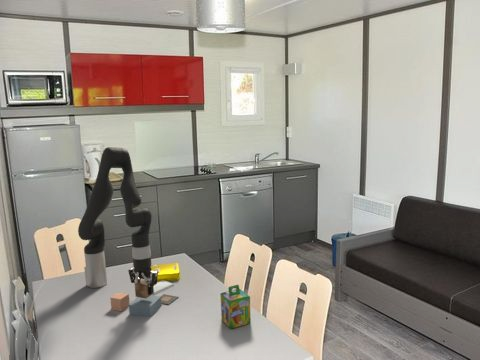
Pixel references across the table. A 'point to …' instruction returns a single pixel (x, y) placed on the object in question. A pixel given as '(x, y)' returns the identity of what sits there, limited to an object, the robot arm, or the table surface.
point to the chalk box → (235, 307)
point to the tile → (167, 299)
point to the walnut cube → (142, 289)
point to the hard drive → (162, 286)
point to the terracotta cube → (119, 301)
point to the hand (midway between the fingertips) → (144, 293)
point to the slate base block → (145, 306)
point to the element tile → (167, 271)
